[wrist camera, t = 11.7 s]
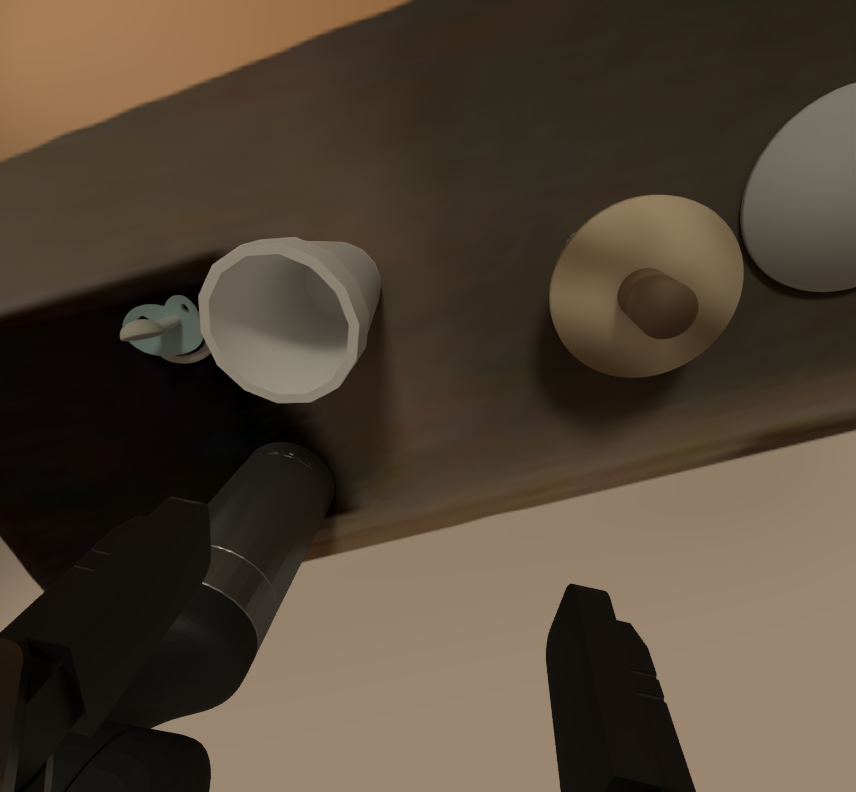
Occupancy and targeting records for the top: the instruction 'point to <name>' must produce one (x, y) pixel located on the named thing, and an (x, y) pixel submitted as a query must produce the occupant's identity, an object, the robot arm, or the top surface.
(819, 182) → the mat
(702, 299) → the lid
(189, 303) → the pacifier
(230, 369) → the foam cup
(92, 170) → the top surface
